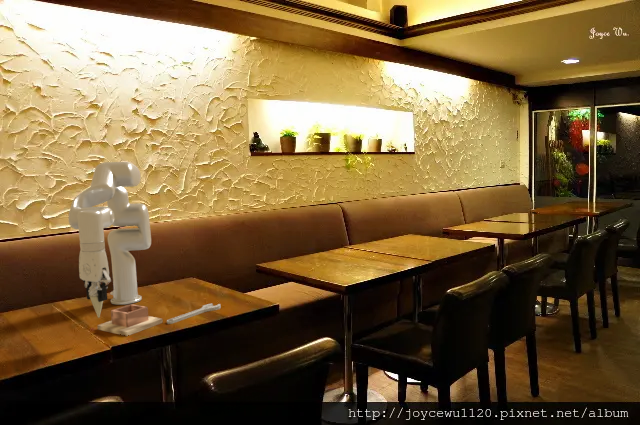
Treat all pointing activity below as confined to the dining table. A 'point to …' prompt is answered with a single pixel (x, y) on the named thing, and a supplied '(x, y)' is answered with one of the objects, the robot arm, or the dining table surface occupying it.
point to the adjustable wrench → (194, 313)
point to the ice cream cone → (95, 298)
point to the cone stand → (129, 320)
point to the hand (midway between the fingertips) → (97, 299)
